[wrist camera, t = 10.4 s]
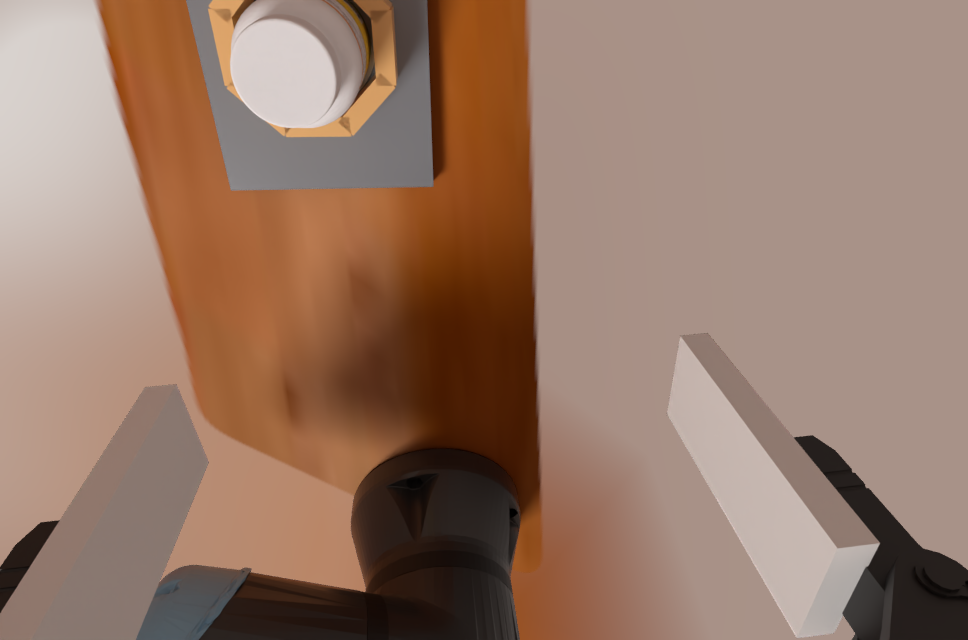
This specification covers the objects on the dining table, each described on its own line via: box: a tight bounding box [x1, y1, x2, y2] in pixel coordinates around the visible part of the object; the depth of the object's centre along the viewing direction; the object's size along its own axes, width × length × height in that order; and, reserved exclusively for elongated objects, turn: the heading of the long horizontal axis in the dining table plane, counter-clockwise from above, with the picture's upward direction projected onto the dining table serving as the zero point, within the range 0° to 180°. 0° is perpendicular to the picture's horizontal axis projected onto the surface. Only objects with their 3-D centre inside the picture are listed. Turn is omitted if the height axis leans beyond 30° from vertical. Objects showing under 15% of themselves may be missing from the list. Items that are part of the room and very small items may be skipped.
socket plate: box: [186, 0, 433, 190], centre depth 29 cm, size 16×12×4 cm
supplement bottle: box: [230, 0, 371, 128], centre depth 26 cm, size 5×5×10 cm
